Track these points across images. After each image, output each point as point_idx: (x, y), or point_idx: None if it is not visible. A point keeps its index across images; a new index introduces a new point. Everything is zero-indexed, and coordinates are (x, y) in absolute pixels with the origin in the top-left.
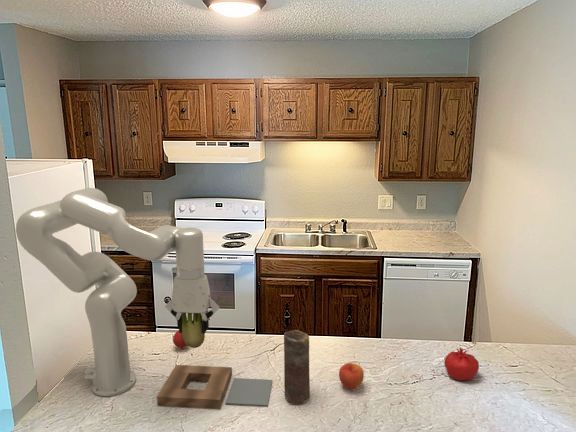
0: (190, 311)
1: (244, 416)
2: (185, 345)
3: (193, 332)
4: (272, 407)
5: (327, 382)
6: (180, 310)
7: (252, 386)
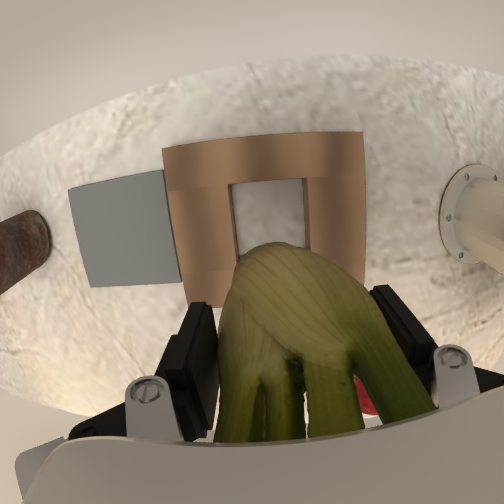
0: (313, 460)
1: (106, 140)
2: (359, 379)
3: (276, 295)
4: (61, 190)
5: (14, 293)
6: (486, 418)
7: (120, 253)
